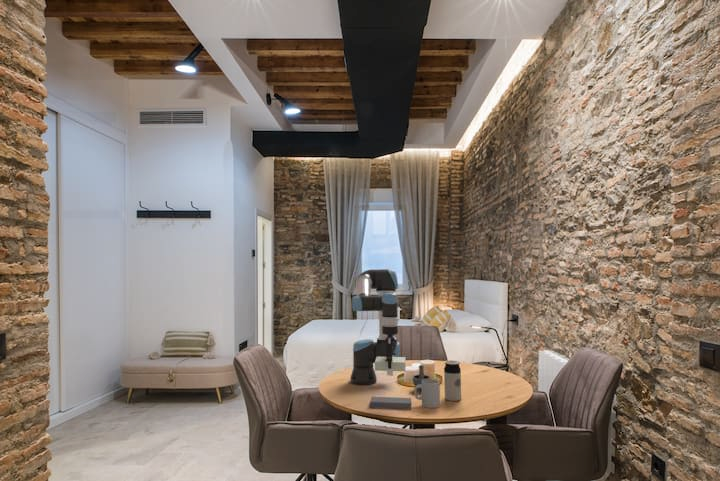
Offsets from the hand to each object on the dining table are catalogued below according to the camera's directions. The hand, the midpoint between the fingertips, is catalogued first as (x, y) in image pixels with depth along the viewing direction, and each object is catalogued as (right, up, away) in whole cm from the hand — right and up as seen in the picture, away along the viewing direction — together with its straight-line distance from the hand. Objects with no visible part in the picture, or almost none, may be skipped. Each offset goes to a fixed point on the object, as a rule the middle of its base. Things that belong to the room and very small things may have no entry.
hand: (390, 372), depth 193 cm
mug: (+17, -15, -2) cm, 23 cm away
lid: (0, +2, 0) cm, 2 cm away
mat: (0, -15, -1) cm, 15 cm away
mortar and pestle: (+18, -17, +23) cm, 34 cm away
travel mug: (+32, -16, +8) cm, 36 cm away
